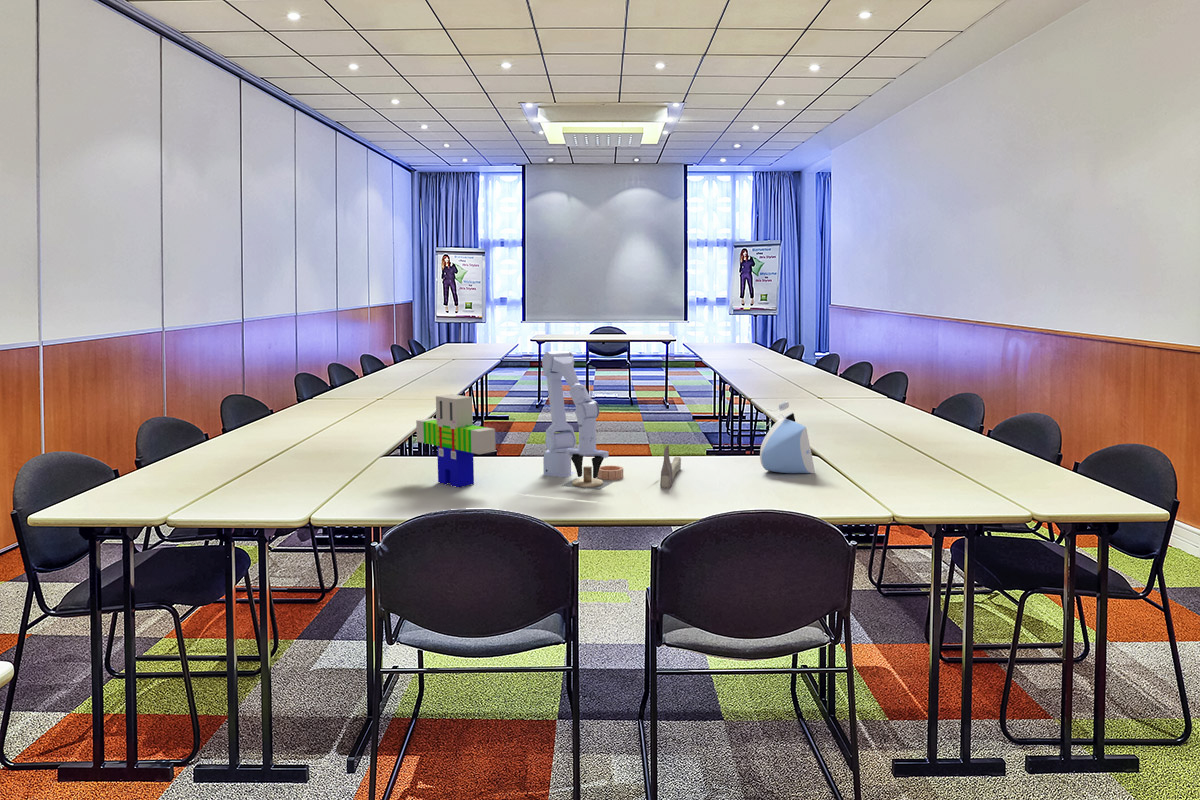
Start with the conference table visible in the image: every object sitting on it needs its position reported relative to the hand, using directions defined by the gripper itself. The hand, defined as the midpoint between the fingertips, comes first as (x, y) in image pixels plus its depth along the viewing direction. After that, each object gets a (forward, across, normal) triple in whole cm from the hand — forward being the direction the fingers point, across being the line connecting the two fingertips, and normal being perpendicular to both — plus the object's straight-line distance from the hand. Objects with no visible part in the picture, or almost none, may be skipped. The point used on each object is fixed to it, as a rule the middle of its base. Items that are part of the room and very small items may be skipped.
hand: (587, 477), depth 304 cm
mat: (+3, 0, 0) cm, 3 cm away
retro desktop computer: (+3, +59, +50) cm, 77 cm away
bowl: (+3, +3, +13) cm, 14 cm away
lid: (+2, 0, 0) cm, 2 cm away
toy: (+3, -43, -14) cm, 45 cm away
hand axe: (+3, +23, +21) cm, 31 cm away
